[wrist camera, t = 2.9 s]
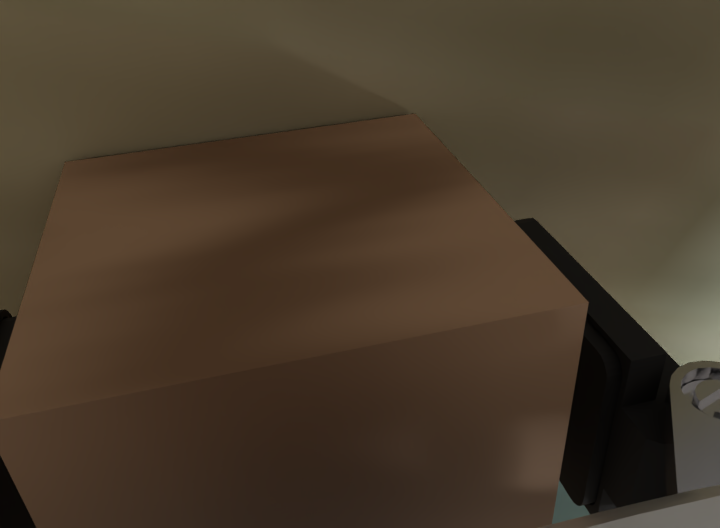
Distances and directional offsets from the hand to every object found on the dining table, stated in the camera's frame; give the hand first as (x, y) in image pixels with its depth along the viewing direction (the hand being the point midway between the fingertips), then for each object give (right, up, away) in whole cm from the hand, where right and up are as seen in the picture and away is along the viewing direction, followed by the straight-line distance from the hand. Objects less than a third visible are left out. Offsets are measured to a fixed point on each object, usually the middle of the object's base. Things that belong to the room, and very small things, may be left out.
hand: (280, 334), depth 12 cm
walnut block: (0, +1, +1) cm, 2 cm away
